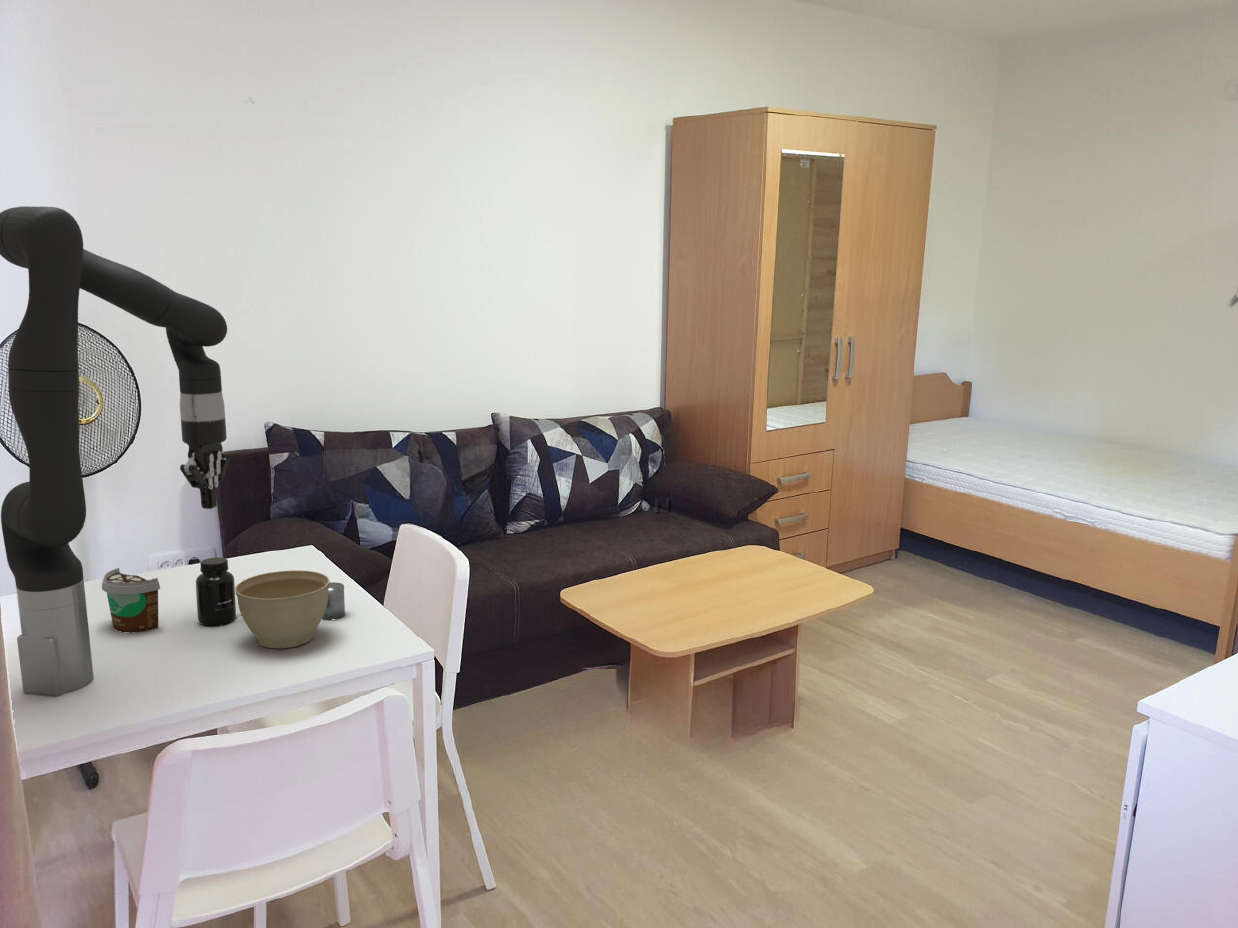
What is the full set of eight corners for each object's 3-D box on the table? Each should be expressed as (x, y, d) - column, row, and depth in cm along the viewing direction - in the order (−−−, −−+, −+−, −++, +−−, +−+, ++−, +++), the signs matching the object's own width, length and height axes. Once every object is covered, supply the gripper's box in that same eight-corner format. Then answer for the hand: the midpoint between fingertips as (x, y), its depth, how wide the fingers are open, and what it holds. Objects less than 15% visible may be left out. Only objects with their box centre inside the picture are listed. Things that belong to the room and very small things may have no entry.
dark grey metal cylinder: (338, 621, 180) (336, 591, 179) (313, 619, 181) (312, 589, 180) (349, 611, 185) (348, 583, 184) (325, 610, 186) (324, 581, 185)
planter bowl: (348, 628, 177) (346, 574, 174) (298, 662, 161) (295, 603, 159) (275, 618, 181) (272, 565, 179) (219, 650, 166) (215, 592, 163)
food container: (91, 626, 175) (85, 576, 173) (121, 616, 180) (116, 567, 178) (133, 640, 169) (128, 588, 167) (163, 629, 174) (159, 578, 172)
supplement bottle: (227, 627, 176) (223, 567, 173) (191, 626, 176) (187, 565, 174) (242, 614, 183) (238, 555, 180) (208, 613, 183) (203, 554, 180)
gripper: (200, 423, 164) (207, 518, 168) (241, 412, 177) (247, 500, 180) (161, 421, 165) (169, 515, 169) (205, 410, 178) (211, 498, 182)
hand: (209, 507), depth 175 cm, fingers closed
